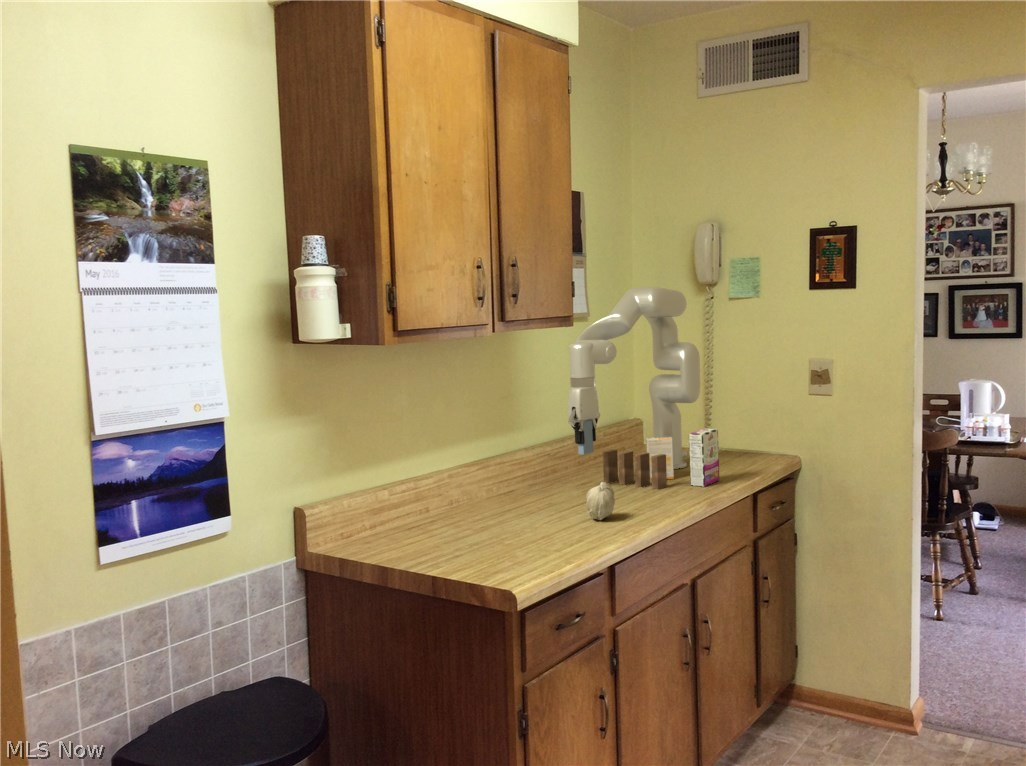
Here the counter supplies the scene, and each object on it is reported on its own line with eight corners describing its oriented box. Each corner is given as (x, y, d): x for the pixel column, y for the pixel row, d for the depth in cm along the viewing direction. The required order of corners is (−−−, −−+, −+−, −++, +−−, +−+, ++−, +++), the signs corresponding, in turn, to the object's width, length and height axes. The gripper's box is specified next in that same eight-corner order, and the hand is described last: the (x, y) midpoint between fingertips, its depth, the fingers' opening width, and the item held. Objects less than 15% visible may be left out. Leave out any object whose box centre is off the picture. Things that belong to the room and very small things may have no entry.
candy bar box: (705, 479, 280) (704, 427, 279) (720, 481, 277) (719, 428, 276) (689, 486, 272) (688, 432, 270) (704, 487, 269) (703, 433, 267)
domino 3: (619, 485, 277) (618, 453, 276) (628, 482, 281) (627, 450, 280) (624, 485, 276) (623, 453, 275) (633, 482, 279) (633, 451, 279)
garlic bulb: (609, 514, 239) (608, 477, 238) (625, 520, 231) (624, 482, 230) (578, 518, 235) (576, 481, 235) (592, 525, 227) (591, 486, 227)
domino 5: (652, 489, 269) (651, 456, 268) (661, 486, 273) (660, 453, 272) (657, 489, 268) (657, 456, 267) (666, 487, 271) (666, 454, 271)
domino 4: (635, 487, 273) (634, 454, 272) (644, 484, 277) (643, 452, 276) (641, 487, 272) (640, 455, 271) (650, 484, 275) (649, 452, 275)
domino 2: (603, 483, 281) (602, 451, 280) (613, 480, 285) (612, 449, 284) (608, 483, 280) (607, 452, 279) (618, 481, 283) (617, 449, 283)
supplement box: (672, 476, 287) (671, 436, 286) (674, 479, 282) (673, 438, 281) (646, 477, 288) (645, 437, 287) (647, 480, 283) (646, 439, 282)
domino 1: (578, 454, 271) (576, 421, 270) (588, 451, 275) (586, 419, 274) (583, 454, 270) (582, 422, 269) (593, 451, 273) (592, 419, 272)
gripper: (589, 379, 279) (592, 437, 281) (555, 385, 266) (558, 446, 268) (609, 380, 274) (612, 438, 276) (575, 386, 261) (578, 447, 263)
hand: (585, 441), depth 272 cm, fingers closed on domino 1, 4 cm apart
